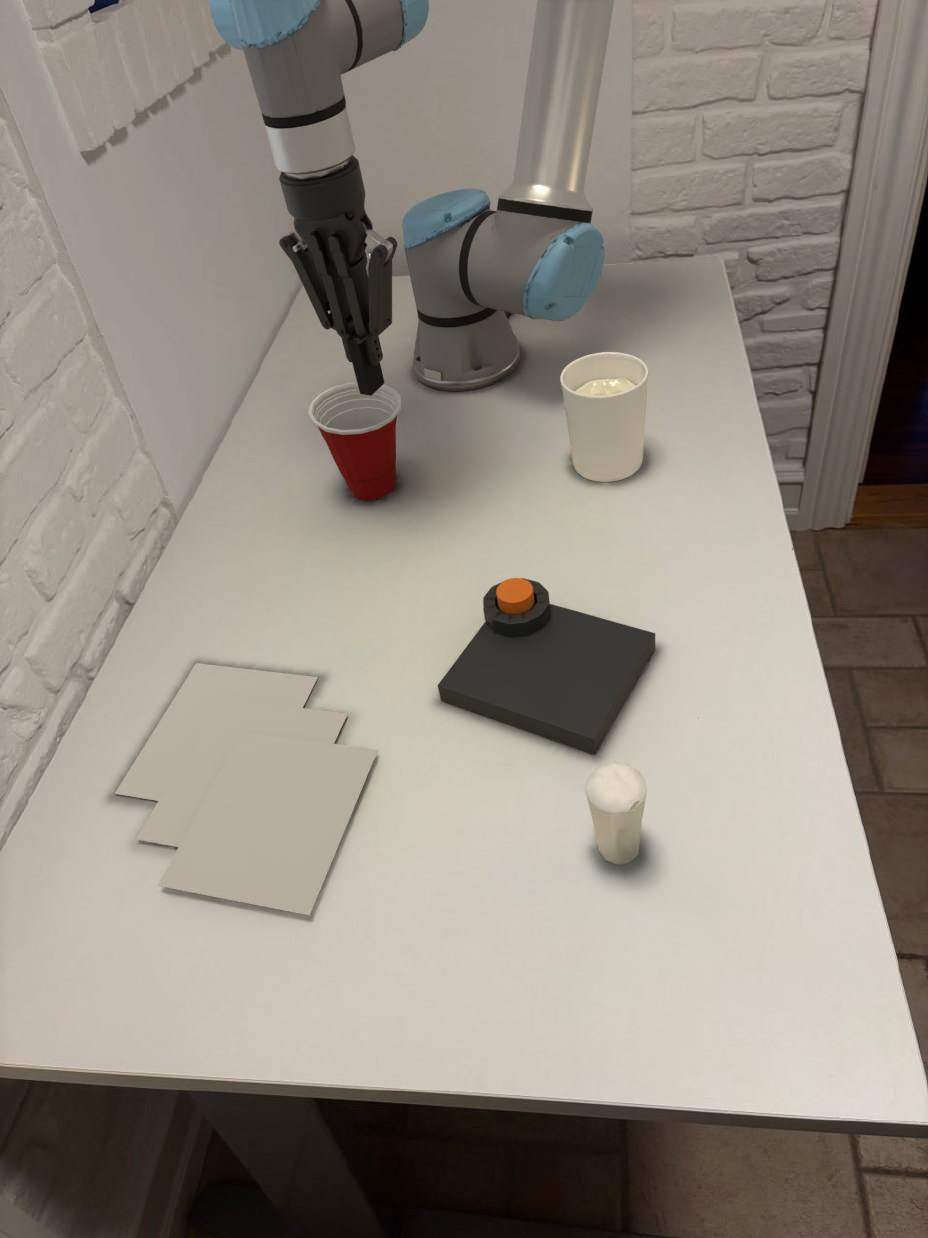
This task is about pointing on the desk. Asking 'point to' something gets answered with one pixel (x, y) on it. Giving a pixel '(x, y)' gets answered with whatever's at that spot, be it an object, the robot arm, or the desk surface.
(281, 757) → the paper stack
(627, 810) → the milkshake
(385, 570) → the desk surface
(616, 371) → the white paper cup
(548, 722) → the dark grey flat block
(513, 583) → the button
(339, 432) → the plastic cup
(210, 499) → the desk surface
